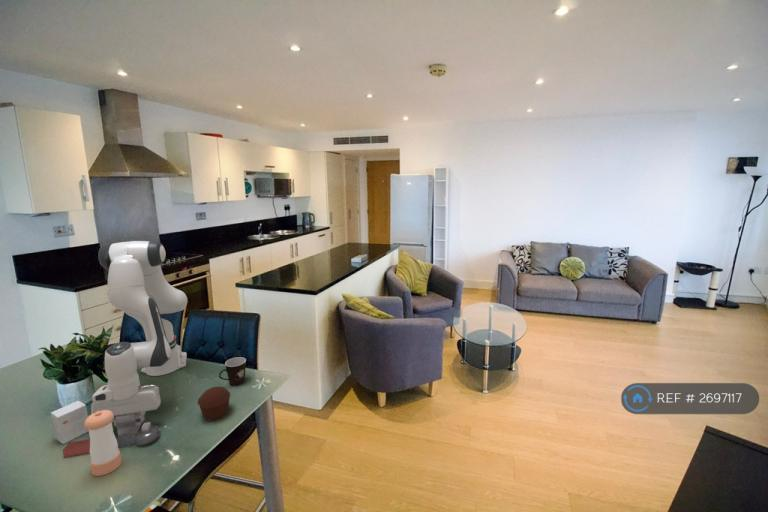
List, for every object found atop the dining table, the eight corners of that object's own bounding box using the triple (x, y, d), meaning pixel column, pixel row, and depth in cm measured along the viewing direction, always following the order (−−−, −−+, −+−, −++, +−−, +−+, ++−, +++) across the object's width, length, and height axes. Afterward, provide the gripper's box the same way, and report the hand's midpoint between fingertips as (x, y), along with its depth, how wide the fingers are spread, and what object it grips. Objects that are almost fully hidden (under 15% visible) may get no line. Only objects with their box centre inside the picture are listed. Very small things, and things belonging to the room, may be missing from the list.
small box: (83, 425, 125) (79, 399, 123) (91, 430, 122) (86, 404, 120) (55, 439, 118) (49, 412, 116) (62, 445, 115) (57, 417, 113)
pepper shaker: (116, 472, 104) (107, 416, 100) (87, 478, 102) (77, 422, 98) (125, 455, 111) (117, 402, 107) (98, 461, 108) (88, 407, 105)
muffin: (210, 403, 138) (208, 381, 136) (236, 404, 138) (235, 382, 136) (192, 422, 127) (190, 398, 125) (221, 424, 126) (219, 400, 124)
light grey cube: (124, 425, 125) (122, 408, 124) (142, 422, 127) (140, 405, 125) (118, 435, 120) (115, 417, 118) (136, 432, 121) (134, 414, 120)
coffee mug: (245, 375, 160) (244, 355, 158) (248, 384, 152) (247, 363, 150) (218, 382, 154) (216, 361, 152) (220, 391, 146) (218, 370, 145)
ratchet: (73, 446, 115) (70, 430, 113) (162, 430, 122) (160, 416, 121) (60, 461, 108) (57, 445, 107) (156, 444, 116) (154, 429, 115)
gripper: (161, 379, 126) (165, 412, 129) (95, 388, 120) (100, 422, 123) (155, 388, 120) (159, 423, 123) (85, 398, 114) (91, 434, 117)
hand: (129, 423), depth 123 cm, fingers open, 6 cm apart
